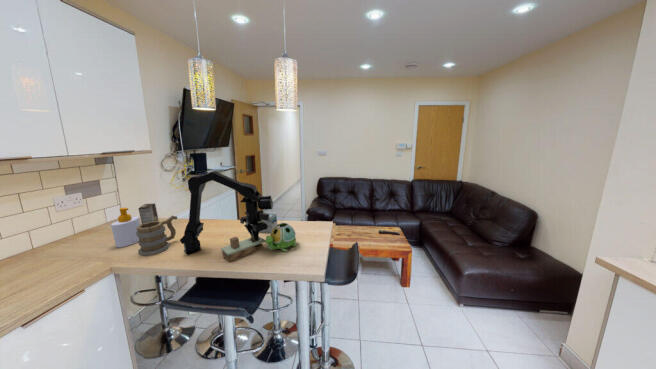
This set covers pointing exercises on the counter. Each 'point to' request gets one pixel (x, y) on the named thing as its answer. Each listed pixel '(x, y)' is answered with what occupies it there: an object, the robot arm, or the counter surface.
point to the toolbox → (241, 253)
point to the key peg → (254, 239)
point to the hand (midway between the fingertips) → (255, 238)
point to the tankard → (154, 236)
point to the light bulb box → (270, 222)
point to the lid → (240, 245)
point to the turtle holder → (281, 237)
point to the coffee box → (148, 213)
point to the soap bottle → (125, 229)
